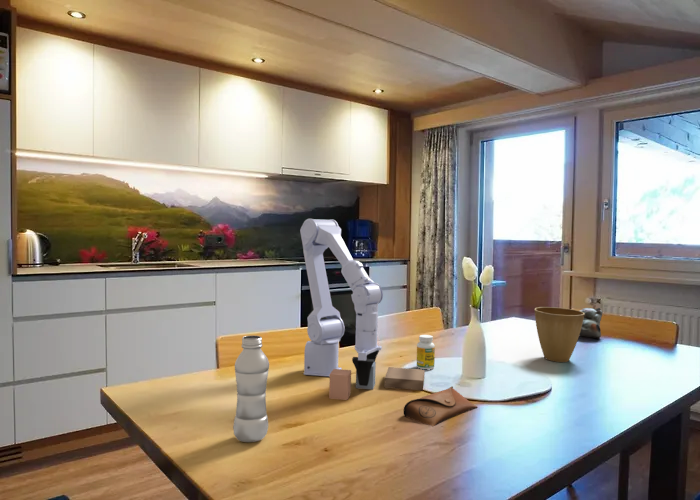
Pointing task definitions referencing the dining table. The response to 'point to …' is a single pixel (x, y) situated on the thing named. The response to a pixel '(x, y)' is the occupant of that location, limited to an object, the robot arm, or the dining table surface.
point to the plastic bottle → (251, 391)
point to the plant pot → (558, 331)
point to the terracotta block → (340, 384)
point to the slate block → (371, 379)
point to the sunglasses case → (437, 407)
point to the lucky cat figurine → (591, 323)
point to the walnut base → (404, 378)
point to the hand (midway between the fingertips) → (365, 380)
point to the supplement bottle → (425, 352)
